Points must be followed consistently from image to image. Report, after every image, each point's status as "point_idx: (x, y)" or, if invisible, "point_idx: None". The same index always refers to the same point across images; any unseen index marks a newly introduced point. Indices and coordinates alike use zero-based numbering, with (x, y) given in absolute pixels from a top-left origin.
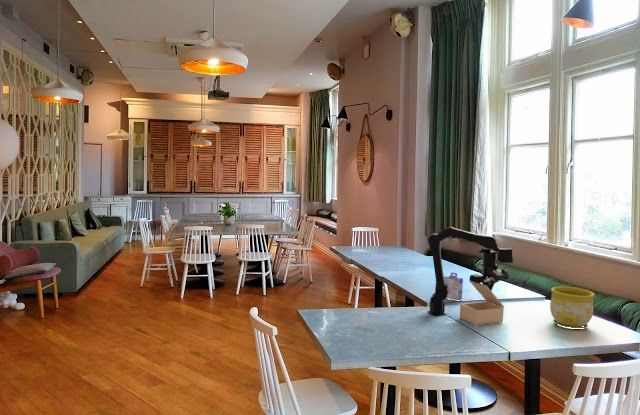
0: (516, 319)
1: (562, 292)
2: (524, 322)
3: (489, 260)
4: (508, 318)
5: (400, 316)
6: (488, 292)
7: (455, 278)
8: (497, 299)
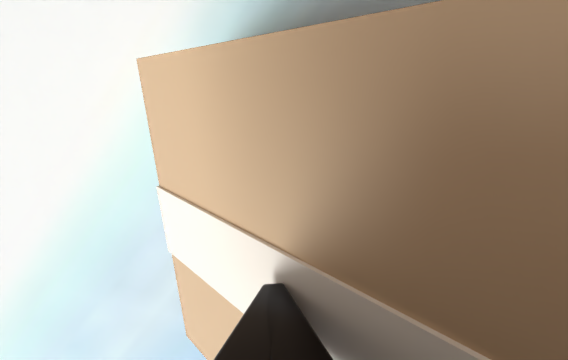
0: (44, 110)
1: None
2: (14, 20)
3: None
4: (97, 148)
5: None
6: (514, 189)
7: None
8: (257, 39)
